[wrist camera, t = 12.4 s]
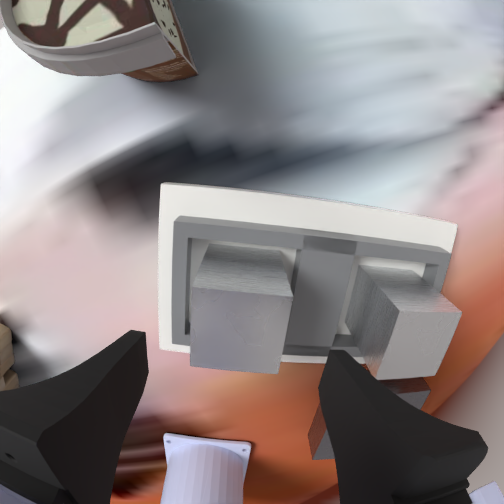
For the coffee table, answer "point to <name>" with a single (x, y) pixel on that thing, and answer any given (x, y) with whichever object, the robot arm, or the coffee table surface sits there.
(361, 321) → the seated billet
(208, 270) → the billet
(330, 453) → the button housing
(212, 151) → the coffee table surface
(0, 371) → the block tower
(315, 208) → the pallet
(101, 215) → the coffee table surface
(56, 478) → the robot arm
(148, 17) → the food container
